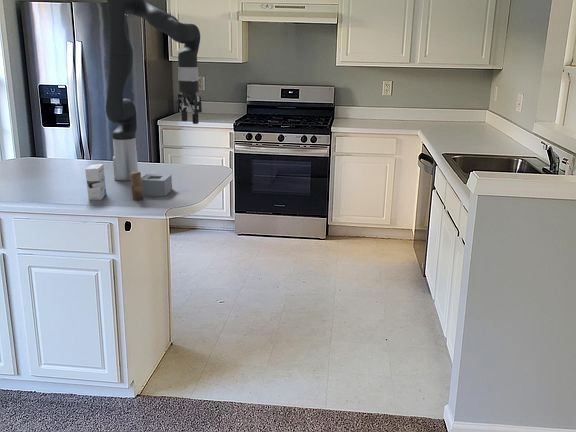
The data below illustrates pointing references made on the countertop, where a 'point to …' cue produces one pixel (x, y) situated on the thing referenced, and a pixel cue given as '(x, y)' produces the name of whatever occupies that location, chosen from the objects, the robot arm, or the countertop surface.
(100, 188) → the ink box
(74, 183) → the countertop surface
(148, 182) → the socket block
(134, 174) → the walnut dowel
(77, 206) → the countertop surface
